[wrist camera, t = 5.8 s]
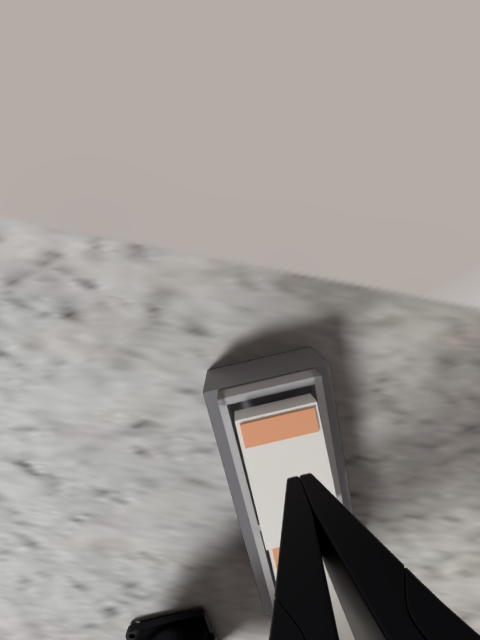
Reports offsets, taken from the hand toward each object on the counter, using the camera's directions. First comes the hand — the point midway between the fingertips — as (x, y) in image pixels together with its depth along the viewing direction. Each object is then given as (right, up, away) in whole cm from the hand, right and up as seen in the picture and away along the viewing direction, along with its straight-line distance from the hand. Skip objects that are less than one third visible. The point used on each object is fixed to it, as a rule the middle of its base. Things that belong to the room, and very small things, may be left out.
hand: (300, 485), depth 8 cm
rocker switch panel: (+1, -5, +10) cm, 11 cm away
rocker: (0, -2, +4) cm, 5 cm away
